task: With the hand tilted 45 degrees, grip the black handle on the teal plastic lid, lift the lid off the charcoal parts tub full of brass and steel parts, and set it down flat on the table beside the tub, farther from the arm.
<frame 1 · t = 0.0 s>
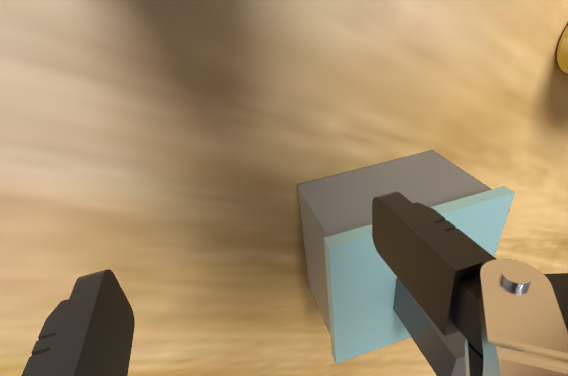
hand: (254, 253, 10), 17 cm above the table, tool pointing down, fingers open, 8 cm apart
tub: (366, 223, 36), on the table
lid: (409, 278, 29), point 8 cm above the table, touching tub
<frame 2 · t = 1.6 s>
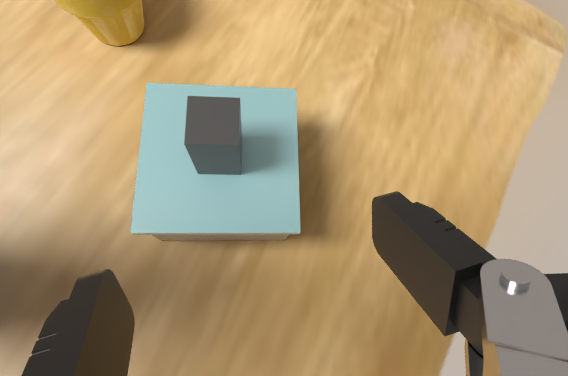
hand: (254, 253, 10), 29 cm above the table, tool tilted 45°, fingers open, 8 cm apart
plant pot: (119, 26, 46), on the table
tub: (226, 182, 41), on the table
lid: (221, 158, 33), point 8 cm above the table, touching tub
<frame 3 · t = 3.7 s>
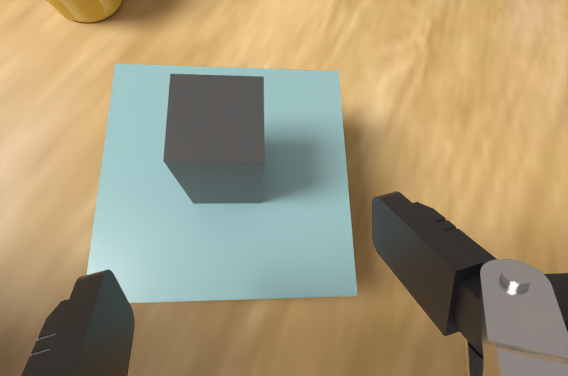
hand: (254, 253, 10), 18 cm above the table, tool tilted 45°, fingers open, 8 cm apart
lid: (229, 177, 22), point 8 cm above the table, touching tub
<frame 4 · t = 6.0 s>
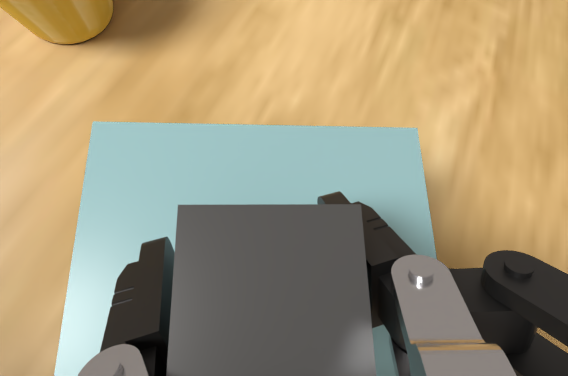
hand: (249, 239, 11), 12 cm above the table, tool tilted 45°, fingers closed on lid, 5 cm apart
plant pot: (72, 11, 27), on the table
lid: (262, 293, 14), point 8 cm above the table, touching gripper, tub
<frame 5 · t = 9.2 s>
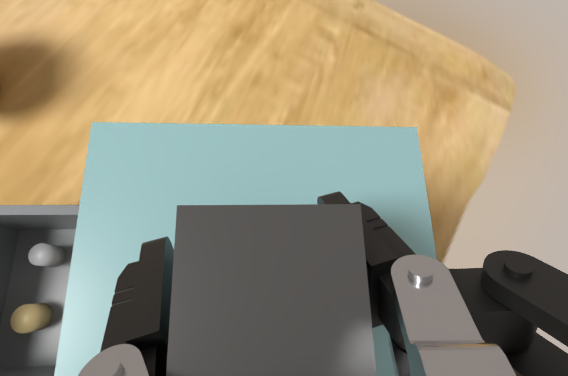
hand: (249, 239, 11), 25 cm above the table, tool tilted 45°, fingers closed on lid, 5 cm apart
tub: (81, 293, 33), on the table
lid: (262, 294, 14), point 21 cm above the table, touching gripper
when the fingers open (6 cm above the table, at t = 12.2 s): lid drops 2 cm, on the table.
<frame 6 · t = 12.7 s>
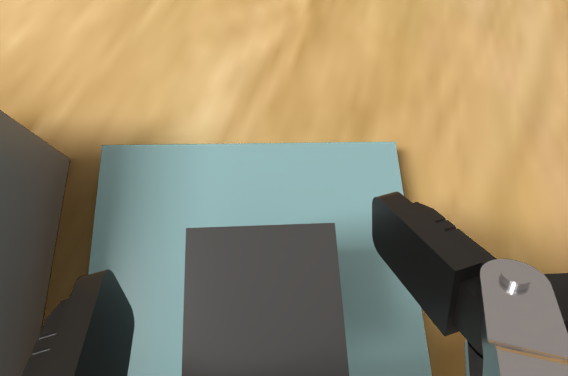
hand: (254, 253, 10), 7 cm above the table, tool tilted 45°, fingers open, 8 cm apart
lid: (259, 295, 16), on the table
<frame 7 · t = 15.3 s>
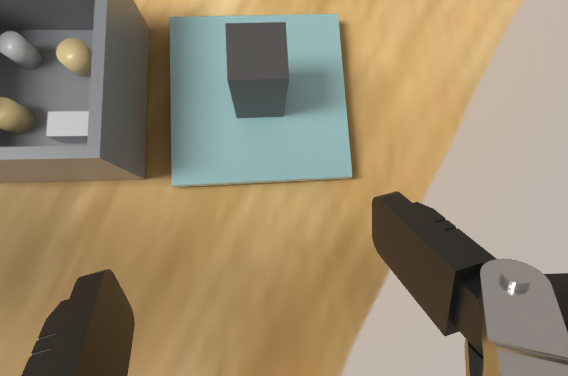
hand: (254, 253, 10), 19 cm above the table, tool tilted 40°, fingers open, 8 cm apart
tub: (65, 102, 29), on the table
lid: (259, 99, 30), on the table
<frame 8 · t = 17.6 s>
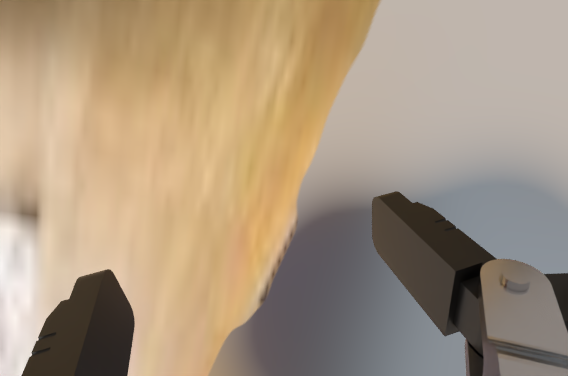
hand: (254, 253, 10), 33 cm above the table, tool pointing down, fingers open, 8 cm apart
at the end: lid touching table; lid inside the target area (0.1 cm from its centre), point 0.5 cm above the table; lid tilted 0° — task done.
